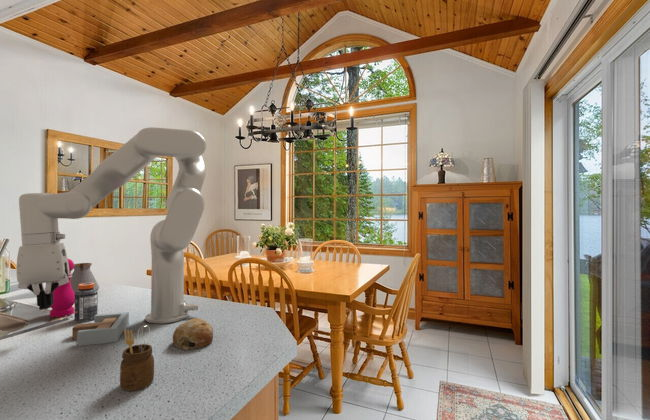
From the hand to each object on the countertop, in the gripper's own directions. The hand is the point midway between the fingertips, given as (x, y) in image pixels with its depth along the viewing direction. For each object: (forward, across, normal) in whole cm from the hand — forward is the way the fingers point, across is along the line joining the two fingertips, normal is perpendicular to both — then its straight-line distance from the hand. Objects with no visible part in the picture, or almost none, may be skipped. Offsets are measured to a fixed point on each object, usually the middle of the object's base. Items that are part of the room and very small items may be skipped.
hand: (45, 307), depth 88 cm
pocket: (+9, -13, +1) cm, 16 cm away
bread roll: (+11, -37, +14) cm, 41 cm away
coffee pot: (+9, +6, -44) cm, 45 cm away
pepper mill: (+9, +5, -23) cm, 25 cm away
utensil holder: (+10, -27, +34) cm, 44 cm away
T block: (+9, -11, +1) cm, 14 cm away
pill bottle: (+9, -4, -15) cm, 18 cm away
